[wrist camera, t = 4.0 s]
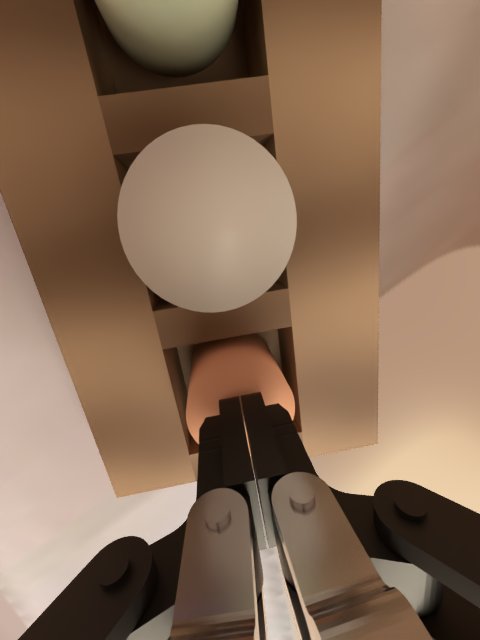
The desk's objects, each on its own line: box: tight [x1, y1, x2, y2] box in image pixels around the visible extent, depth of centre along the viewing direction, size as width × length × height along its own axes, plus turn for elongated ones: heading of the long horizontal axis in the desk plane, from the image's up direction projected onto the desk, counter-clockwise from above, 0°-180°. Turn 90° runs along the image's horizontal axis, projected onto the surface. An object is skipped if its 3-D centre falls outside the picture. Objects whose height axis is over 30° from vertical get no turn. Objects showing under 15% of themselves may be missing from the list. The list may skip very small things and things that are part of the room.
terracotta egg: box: [186, 333, 295, 456], centre depth 12 cm, size 4×4×4 cm
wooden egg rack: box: [0, 0, 381, 498], centre depth 11 cm, size 21×12×4 cm, turn 8°
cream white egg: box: [117, 124, 297, 313], centre depth 8 cm, size 4×4×4 cm
